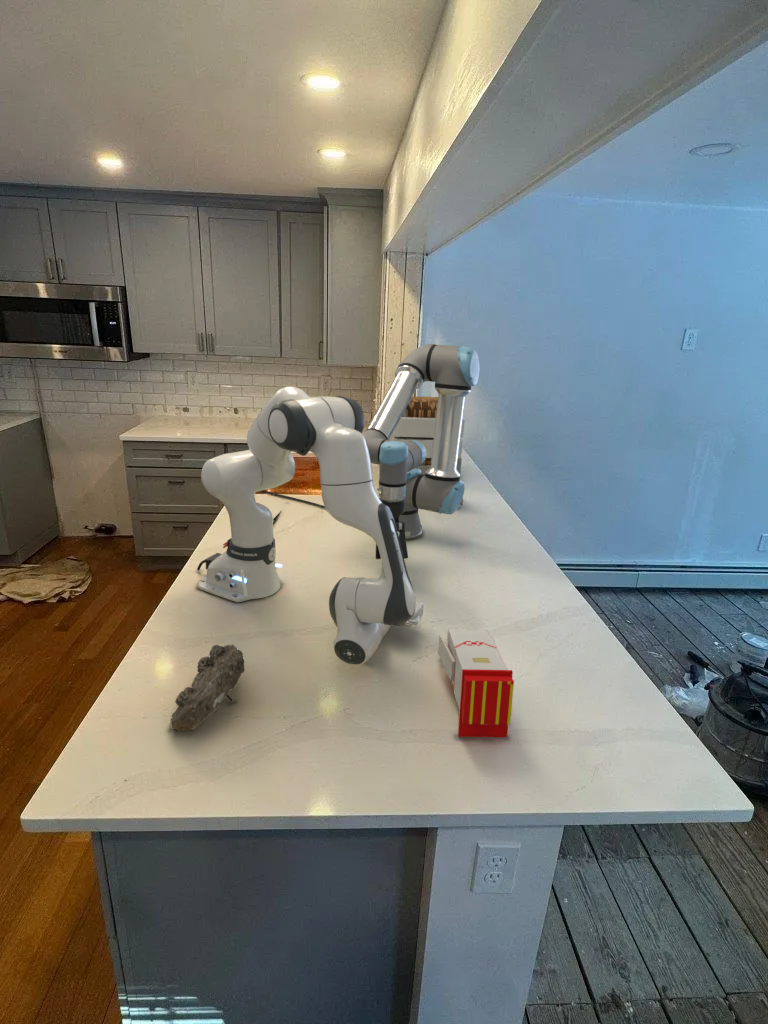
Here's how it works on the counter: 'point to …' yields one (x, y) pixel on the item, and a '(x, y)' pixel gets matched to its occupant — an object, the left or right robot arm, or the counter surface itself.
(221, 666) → the fossil
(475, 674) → the toy
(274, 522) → the feather
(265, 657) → the counter surface
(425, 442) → the transformer
